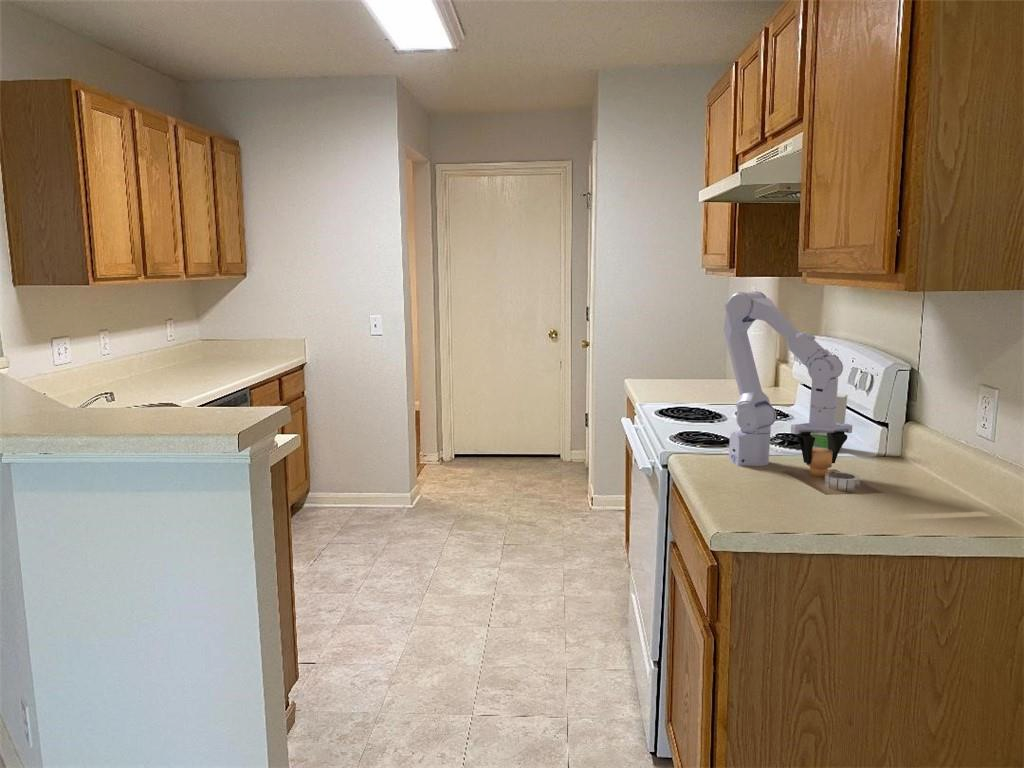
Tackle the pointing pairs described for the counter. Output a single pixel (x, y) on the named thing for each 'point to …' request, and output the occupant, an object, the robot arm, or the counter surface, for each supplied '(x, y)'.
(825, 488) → the brown board
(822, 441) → the skincare box
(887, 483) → the counter surface
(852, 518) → the counter surface
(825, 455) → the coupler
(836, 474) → the duct stub
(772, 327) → the robot arm
